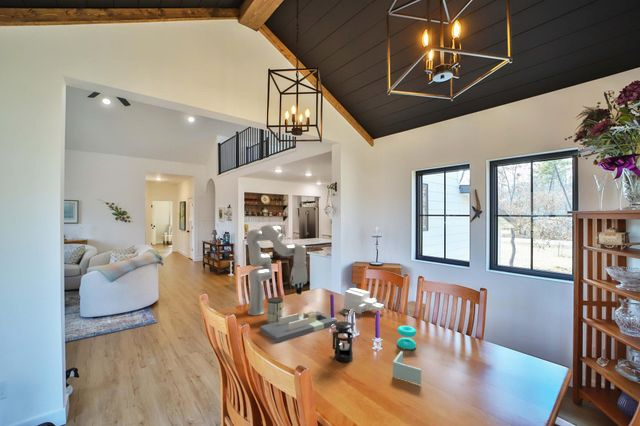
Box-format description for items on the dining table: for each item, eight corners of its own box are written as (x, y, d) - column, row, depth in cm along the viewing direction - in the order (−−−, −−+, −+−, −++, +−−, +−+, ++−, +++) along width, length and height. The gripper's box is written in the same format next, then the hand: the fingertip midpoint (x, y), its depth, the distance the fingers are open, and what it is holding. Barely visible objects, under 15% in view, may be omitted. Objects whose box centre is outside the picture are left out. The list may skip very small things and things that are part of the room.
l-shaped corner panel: (420, 387, 120) (420, 370, 120) (392, 378, 126) (392, 361, 126) (426, 374, 130) (426, 358, 130) (400, 366, 136) (400, 351, 137)
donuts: (396, 324, 162) (415, 325, 160) (396, 341, 162) (414, 343, 160) (398, 331, 153) (417, 332, 151) (397, 349, 153) (417, 351, 151)
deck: (260, 331, 173) (260, 319, 173) (317, 315, 201) (317, 305, 201) (276, 343, 158) (276, 330, 158) (336, 324, 186) (336, 313, 186)
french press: (357, 358, 142) (358, 312, 142) (346, 366, 135) (347, 317, 135) (339, 350, 150) (339, 307, 150) (327, 357, 143) (328, 311, 143)
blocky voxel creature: (373, 323, 194) (338, 311, 210) (387, 313, 215) (354, 303, 231) (375, 301, 194) (340, 291, 210) (389, 293, 214) (356, 285, 230)
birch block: (303, 320, 184) (303, 312, 184) (310, 318, 188) (310, 310, 188) (308, 323, 179) (308, 315, 179) (316, 321, 183) (316, 313, 183)
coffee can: (269, 317, 197) (269, 296, 197) (284, 318, 196) (284, 297, 196) (265, 322, 186) (265, 301, 186) (280, 323, 185) (280, 302, 185)
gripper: (305, 262, 187) (304, 290, 187) (286, 265, 177) (285, 294, 177) (312, 264, 181) (311, 293, 181) (292, 267, 171) (292, 297, 172)
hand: (298, 293), depth 179 cm, fingers closed
